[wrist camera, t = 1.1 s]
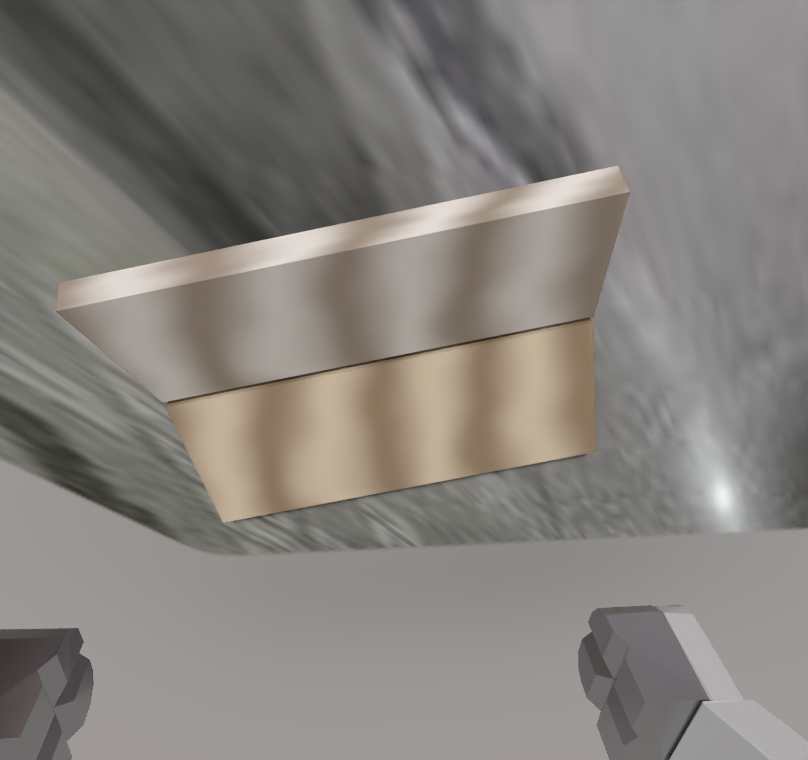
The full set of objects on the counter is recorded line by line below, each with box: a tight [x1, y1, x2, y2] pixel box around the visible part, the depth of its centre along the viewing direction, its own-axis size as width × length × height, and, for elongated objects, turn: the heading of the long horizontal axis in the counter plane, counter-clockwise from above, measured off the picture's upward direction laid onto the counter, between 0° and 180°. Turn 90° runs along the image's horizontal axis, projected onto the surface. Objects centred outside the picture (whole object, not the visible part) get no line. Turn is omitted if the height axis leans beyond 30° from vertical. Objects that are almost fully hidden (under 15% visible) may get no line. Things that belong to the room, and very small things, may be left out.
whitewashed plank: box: [56, 166, 630, 402], centre depth 31 cm, size 26×10×2 cm, turn 101°
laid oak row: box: [166, 317, 596, 523], centre depth 39 cm, size 26×10×2 cm, turn 101°
